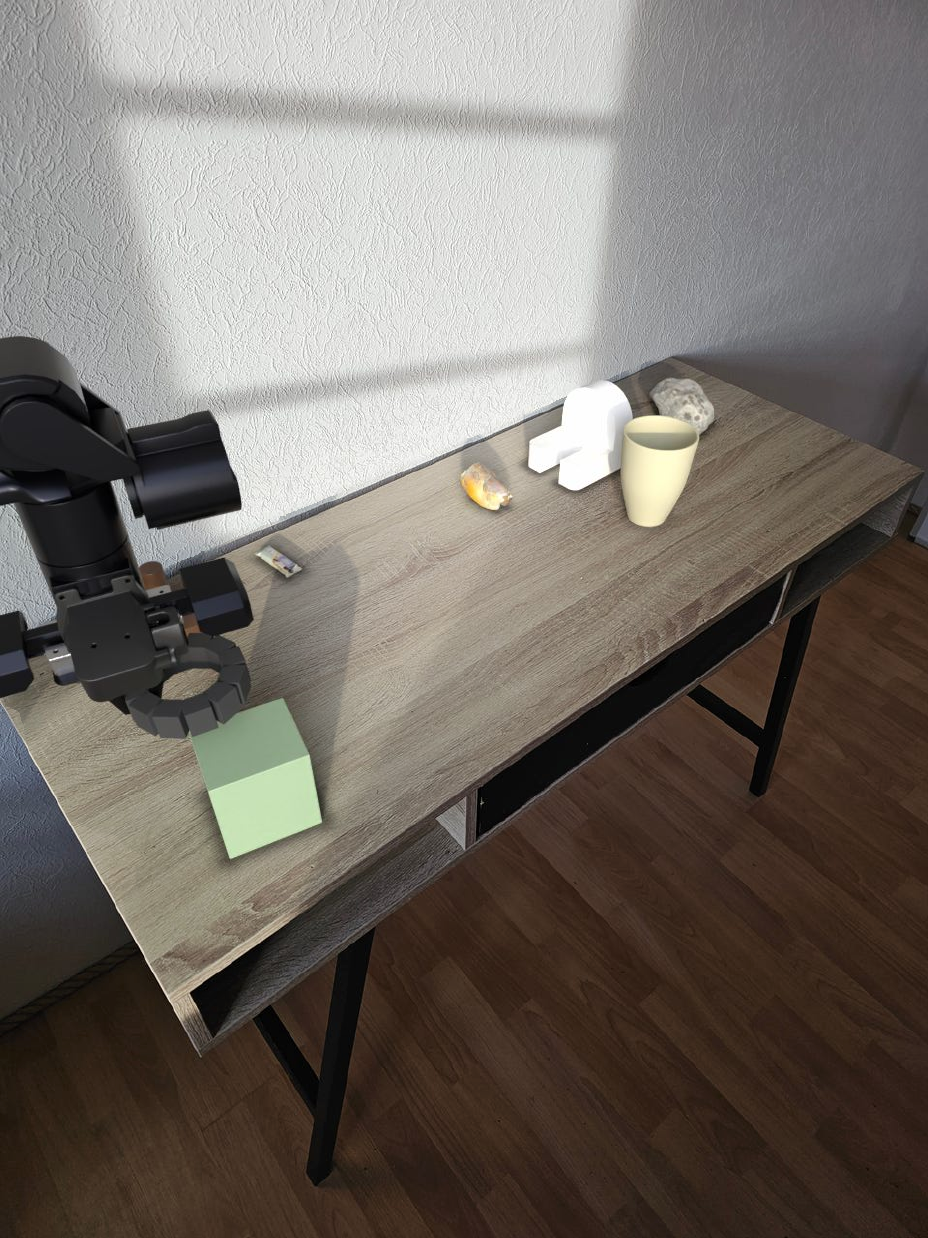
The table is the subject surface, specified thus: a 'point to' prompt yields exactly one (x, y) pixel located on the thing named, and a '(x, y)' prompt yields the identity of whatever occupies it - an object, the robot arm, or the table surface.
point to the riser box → (258, 777)
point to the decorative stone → (683, 402)
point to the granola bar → (278, 561)
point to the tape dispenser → (584, 436)
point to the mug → (655, 466)
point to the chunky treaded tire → (204, 707)
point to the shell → (485, 487)
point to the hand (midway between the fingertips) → (142, 706)
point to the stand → (156, 578)
